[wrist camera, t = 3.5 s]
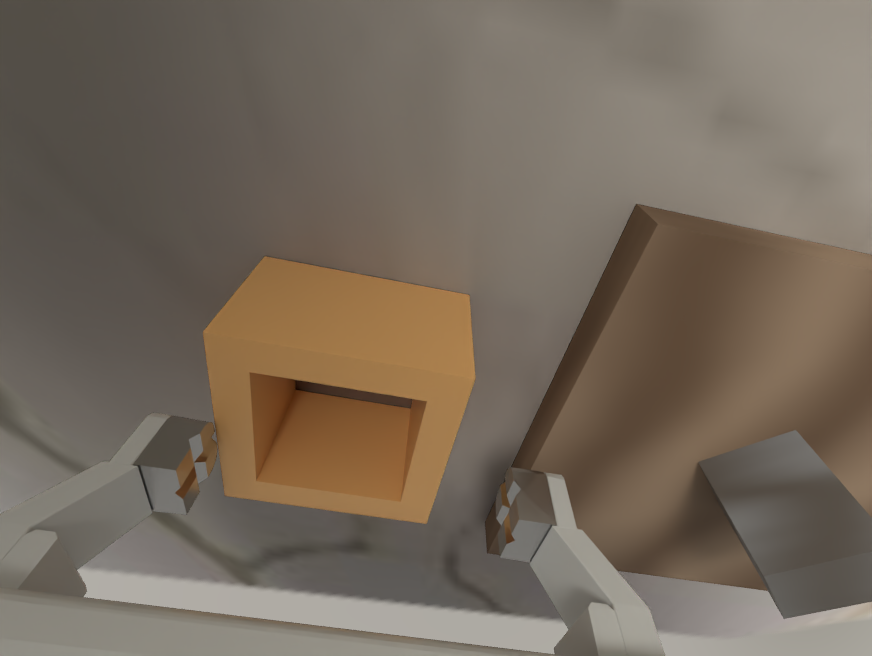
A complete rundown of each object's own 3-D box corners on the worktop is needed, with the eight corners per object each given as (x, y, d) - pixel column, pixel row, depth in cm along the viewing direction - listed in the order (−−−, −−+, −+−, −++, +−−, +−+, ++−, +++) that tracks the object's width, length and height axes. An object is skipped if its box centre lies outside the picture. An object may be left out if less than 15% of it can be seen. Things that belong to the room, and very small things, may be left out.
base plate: (485, 522, 21) (494, 658, 16) (636, 203, 12) (751, 311, 7) (784, 564, 22) (868, 699, 18) (1120, 308, 13) (1465, 452, 9)
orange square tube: (268, 404, 17) (224, 495, 13) (264, 256, 13) (202, 331, 10) (431, 429, 17) (426, 524, 14) (469, 294, 14) (475, 378, 10)
